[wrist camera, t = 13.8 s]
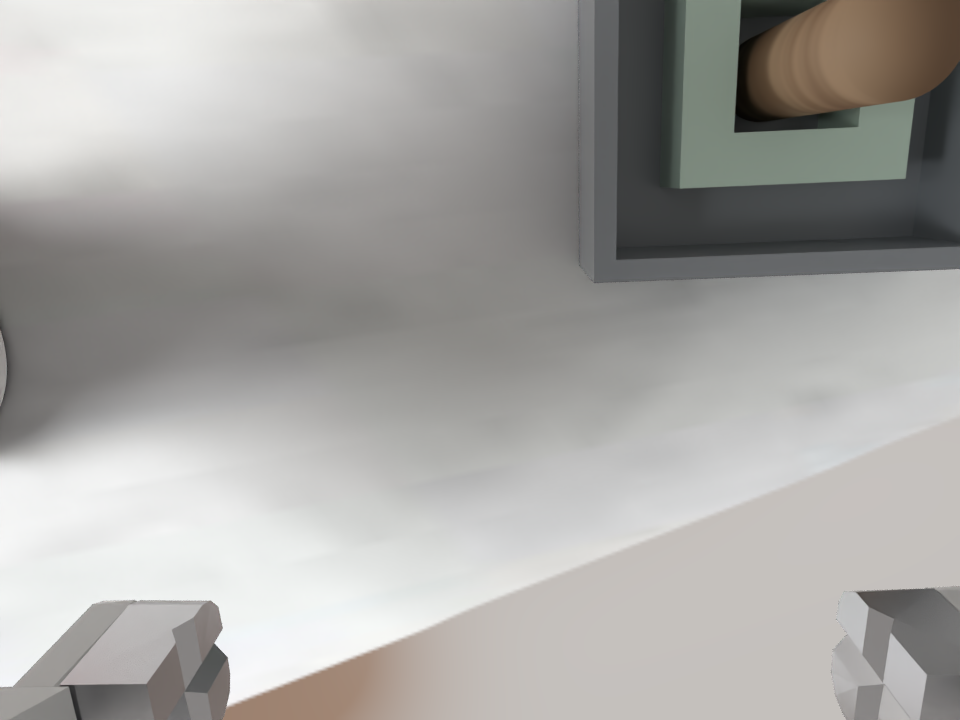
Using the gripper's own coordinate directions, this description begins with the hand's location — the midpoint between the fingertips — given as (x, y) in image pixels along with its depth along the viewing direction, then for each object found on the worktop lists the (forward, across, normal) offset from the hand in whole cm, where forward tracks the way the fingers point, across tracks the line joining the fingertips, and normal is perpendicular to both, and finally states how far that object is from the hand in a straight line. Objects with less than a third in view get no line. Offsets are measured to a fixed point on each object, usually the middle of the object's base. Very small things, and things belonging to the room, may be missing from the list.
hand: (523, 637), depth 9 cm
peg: (+28, -13, -10) cm, 32 cm away
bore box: (+29, -13, -10) cm, 33 cm away
